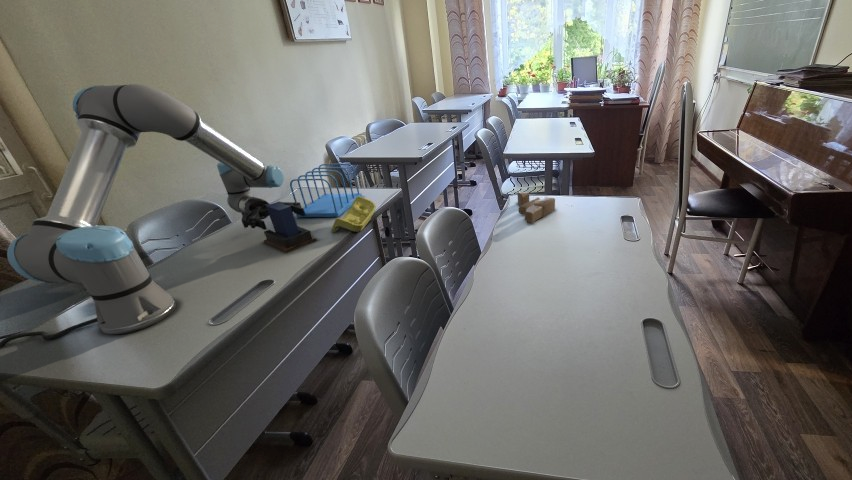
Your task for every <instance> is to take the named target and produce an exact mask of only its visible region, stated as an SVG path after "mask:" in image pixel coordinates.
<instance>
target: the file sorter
mask: <svg viewBox="0 0 852 480" xmlns="http://www.w3.org/2000/svg"><path fill="white" fill-rule="evenodd" d="M326 166H327V167H326ZM343 166H348V167H350V168H352V172H353V173H352V174H353V178H354V181H355V185H356V186H355V187H356V191H357V193H356V192H354V190H353V186H352V182H351V177H350V174H349V171H348V170H347V168H346V167H343ZM337 169H341V170H344V171H345V172H346V175H347V179H348V180H347V181H348V184H349V187H350V193H349V192H347V188H346V183H345V179H344V176H343V174H342V173H341V172H340V171H338V170H337ZM315 173H318V174H315ZM322 173H337V174H338V175H339V176H340V178H341V182H342V186H343V190H344V193H340V189H339V185H338V181H337V179H336V177H335V176H333V175H332V174H322ZM302 177H303V178H302ZM308 177H312V178H308ZM315 177H319V178H315ZM323 177H331V179H333V180H334V183H335V187H336V191H337V193H333V191H332V186H331V183H330V182H329V180H327V179H325V178H323ZM296 181H297V185H298V189H299V191H300V195H301V199H302V201H303V205H304V207H303V208H304V212H305V215H306V216H301V215H298V214H295V215H296V218H340V216H341V215H342V214H344V213H345V212H346V211H348V210H349V209H350V207H351V206H352V204H353V202H354V200H355V199H356V197H358V196H360V197H363V195H362V193H361V192H360V190H359V185H358V181H357V175H356V171H355V168H354V166H353V165H352V164H350V163H322V164H320V165H319V166H318V167H314V168H313V169H312V170H308V171H307V172H305V174H302V175H299V176H298V177H297V178H293V179H291V180H290V182H289V187H290V190H291V195H292V198H293V202H298V201H297V197H296V194H295V192H294V188H293V182H296ZM301 181H305V183H306V186H307V190H308V193H309V197H310V200H311V203H309V204H308V205H307V203H306V199H305V195H304V193H303V190H302V189H303V188H302V185H301ZM309 181H313V183H314V188H315V191H316V194H317V198H316V199H315V200H314V198H313V194H312V191H311V188H310V184H309ZM316 181H321V186H322V190H323V194H322V195H320V193H319V190H318V186H317V182H316ZM324 182H325V183H327V186H328V188H329V193H327V191H326V188H325V184H324Z"/></svg>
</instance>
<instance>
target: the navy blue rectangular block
mask: <svg viewBox="0 0 852 480" xmlns="http://www.w3.org/2000/svg"><path fill="white" fill-rule="evenodd" d="M279 202H280V201H279ZM279 202H278V201H276V202H273V203H269V205H266V208H267V210H268V213H269V216H268V217H269V218H270V222H271V225H272V227H273V229H274V230H273V231H274V232H276V233H279V234H281V235H283V236H286V237H288V238H289V237H291V236H294V235H297V234H299V230H298V227H297V226H298V224H297V221H296V219H295V216H294V215H295V214H294V212H292V209H291V206H288V205H285V204H282V203H279Z"/></svg>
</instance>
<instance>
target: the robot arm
mask: <svg viewBox="0 0 852 480" xmlns="http://www.w3.org/2000/svg"><path fill="white" fill-rule="evenodd" d="M72 111H73V112H74V113H75V118H76V122H75V123H76V126H77V127H78V129H79V130H80V131H81V133H80V135H79V138H78V141H77V143H76V145H75V148H74V150H73V152H72V155H71V157H70V159H69V161H68V163H67V167H66V169H65V171H64V174H63V175H62V179H61V181H60V184H59V186H58V188H57V190H56V193H55V195H54V198H53V199H52V202H51V204H50V206H49V209H48V211H47V214H46V215H45V216H42V217H39V218H36V219H34V220H33V222H32V225H31V227H30V230H29V231H28V233H25V234H21V235H20V236H18V237H16V238H15V239H13V240H12V241H11V242H10V244H9V245H8V248H7V252H6V256H7V257H6V258H7V261H8V263H9V265H10V266H11V267H12V269H13V270H14V271H15V272H16V273H17V274H19V275H20V276H22V277H24V278H26V279H28V280H31V281H34V282H35V281H36V282H42V283H47V284H58V283H59V284H60V283H61V284H62V283H63V284H81V285H82V286H83V287H84V288H85V290H86V292H87V293H88V294H89V296H90V297H91V298H92V300H93V302H94V307H95V308H94V309H95V314H96V317H95V318H91V319H88V320H86V321H83V322H80V323H77V324H75V325H72V326H69V327H66V328H65V329H63V330H61V331H60V330H59V331H58V332H56V333H54V334H48V333H47V331H43V330H40V331H39V330H38V331H28V332H27V331H26V332H21V333H17V334H12V335H10V336H7V337H5V338H4V339H2V340H0V348H3V347H5V346H6V345H7V344H8V343H9V342H11V341H13V340H17V339H20V338H27V337H39V336H41V338H42V339H43V340H48V341H49V340H53V339H54V340H55V339H57V338H59V337H62V336H63V335H66V334H68V333H70V332H72V331H75V330H78V329H80V328H83V327H86V326H89V325H92V324H95V323H97V325H98V327H99V328H100V330H101V331H102V332H103V333H105V334H107V335H123V334H128V333H132V332H136V331H140V330H143V329H145V328H148V327H151V326H153V325H155V324H157V323H159V322H161V321H162V320H164V319H165V318H168V317H169V316H170V315H171V314H172V313H173V312H174V311H175V310H176V308H177V303H176V301H175V299H174V297H173V296H171V295H170V294H169V293H168V292H167V291H166V290H165V289H164V288H162V287H161V286H160V285H158V284H157V283H156V282H155V281H154V280H153V278H152V276H151V274H150V273H149V271H148V270H147V267H146V266H145V264H144V262H143V260H142V259H141V257H140V255H139V253H138V252H137V249H136V248H135V245H134V242H133V241H132V240H131V239H130V237H129V236H128V235H127V234H126V232H125V231H124V230H123V229H121V228H119V227H117V226H114V225H113V226H112V225H98V224H99V221H100V218H101V216H102V214H103V210H104V208H105V205H106V203H107V200H108V198H109V195H110V192H111V190H112V187H113V185H114V182H115V179H116V176H117V174H118V171H119V168H120V166H121V163H122V161H123V158H124V155H125V152H126V150H127V149H130V148H134V147H136V145H137V144H138V143H137V142H138V140H139V138H140V136H141V133H159V134H163V135H166V136H169V137H171V138H173V139H174V140H176V141H179V142H185V143H188V144H189V145H190V146H192V147H194V148H196V149H197V150H200V151H201V152H203V153H204V154H206V155H208V156H209V157H211V158H212V159H214V160H216V161H218V163H217V165H216V167H217V170H218V174H219V177H220V179H221V181H222V184H223V186H224V188H225V190H226V193H227V200H226V202H227V205H228V207H229V208H230V209H232V210H233V211H235V212H237V213H239V214H241V223H242V225H243V228H244V229H247V228H249V226H250V228H251V229H256V228H259V229H261V230H264V231H267V230H268V228H267V225H266V223H265V221H264V220H265V219H267V218H268V217H270V216H269V213H268V210H267V208H266V205H269V204H270V203H269V202H268V201H267V200H265V199H263V198H260V197H258V196H255V195H253V193H252V190H251V188H255V189H257V188H262V189H263V188H266V189H267V188H268V189H273V188H280V187H281V186H282V185H283V183H284V179H285V177H284V173H283V171H282V169H281V168H280V167H279V166H276V165H267V164H266V163H264V162H262V161H261V160H259V159H258V158H256V157H255V156H253V154H250V153H249V152H248V151H246V150H245V149H244V148H242V147H241V146H239V145H238V144H236V143H235V142H233V141H232V140H230V139H229V138H228V137H226V136H225V135H224V134H222V133H221V132H219V131H218V130H216V129H214V128H213V127H212V126H210V125H209V124H208V123H206V122H204V120H202V119H201V116H200V114H199V113H198V112H197V111H195V110H194V109H192V108H191V107H189V106H188V105H186V104H185V103H183V102H182V101H180V100H178V99H177V98H175V97H173V96H171V95H170V94H168V93H166V92H163V91H161V90H159V89H157V88H155V87H151V86H148V85H144V84H137V83H129V84H115V85H113V84H112V85H104V84H100V85H99V84H98V85H93V86H88V87H84V88H82V89H81V90H79V91H78V92H76V94H75V95H74V96H73V99H72ZM277 202H279V203H282V204H285V205H288V206H291V209H292V212H293V214H294V215H296V214H298V215H301V216H306V215H305V212H304V208H305V207H302V204H301V202H299V201H297V202H295V201H292V202H291V201H277Z"/></svg>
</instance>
